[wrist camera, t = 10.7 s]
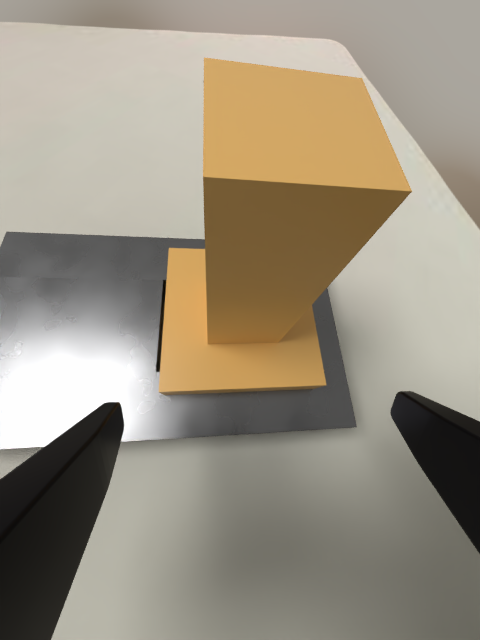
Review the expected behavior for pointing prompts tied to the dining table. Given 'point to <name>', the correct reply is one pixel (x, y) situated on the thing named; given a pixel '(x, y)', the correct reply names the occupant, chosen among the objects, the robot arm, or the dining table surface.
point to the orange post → (273, 226)
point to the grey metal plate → (124, 348)
